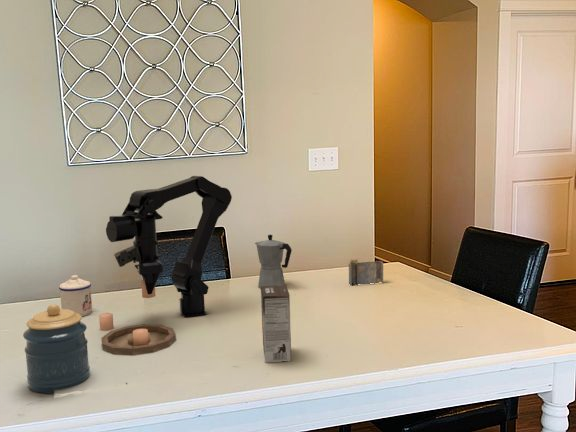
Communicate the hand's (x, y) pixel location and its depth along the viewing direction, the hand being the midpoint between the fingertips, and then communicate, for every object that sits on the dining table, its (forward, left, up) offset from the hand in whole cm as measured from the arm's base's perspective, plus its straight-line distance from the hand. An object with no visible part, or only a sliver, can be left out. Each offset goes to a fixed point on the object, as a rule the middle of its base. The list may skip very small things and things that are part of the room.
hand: (148, 292), depth 175 cm
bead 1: (+12, 0, -10) cm, 15 cm away
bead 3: (0, 0, -1) cm, 1 cm away
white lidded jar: (+19, -22, -10) cm, 31 cm away
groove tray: (+5, +15, -10) cm, 18 cm away
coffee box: (-25, +36, -10) cm, 45 cm away
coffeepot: (-44, -24, -10) cm, 51 cm away
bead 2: (+5, +20, -9) cm, 22 cm away
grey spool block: (-74, -15, -10) cm, 76 cm away
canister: (+24, +32, -10) cm, 41 cm away
